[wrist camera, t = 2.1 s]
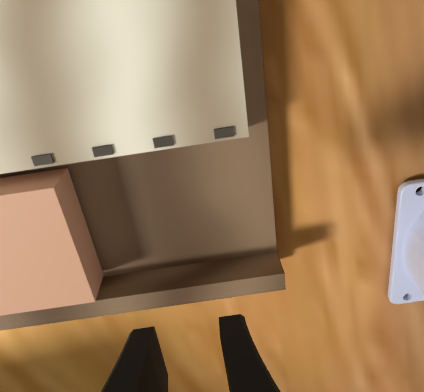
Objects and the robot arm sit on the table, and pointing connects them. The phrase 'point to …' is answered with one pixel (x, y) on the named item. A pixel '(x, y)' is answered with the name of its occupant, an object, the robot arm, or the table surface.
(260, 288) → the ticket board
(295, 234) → the table surface
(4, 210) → the peach pink block
